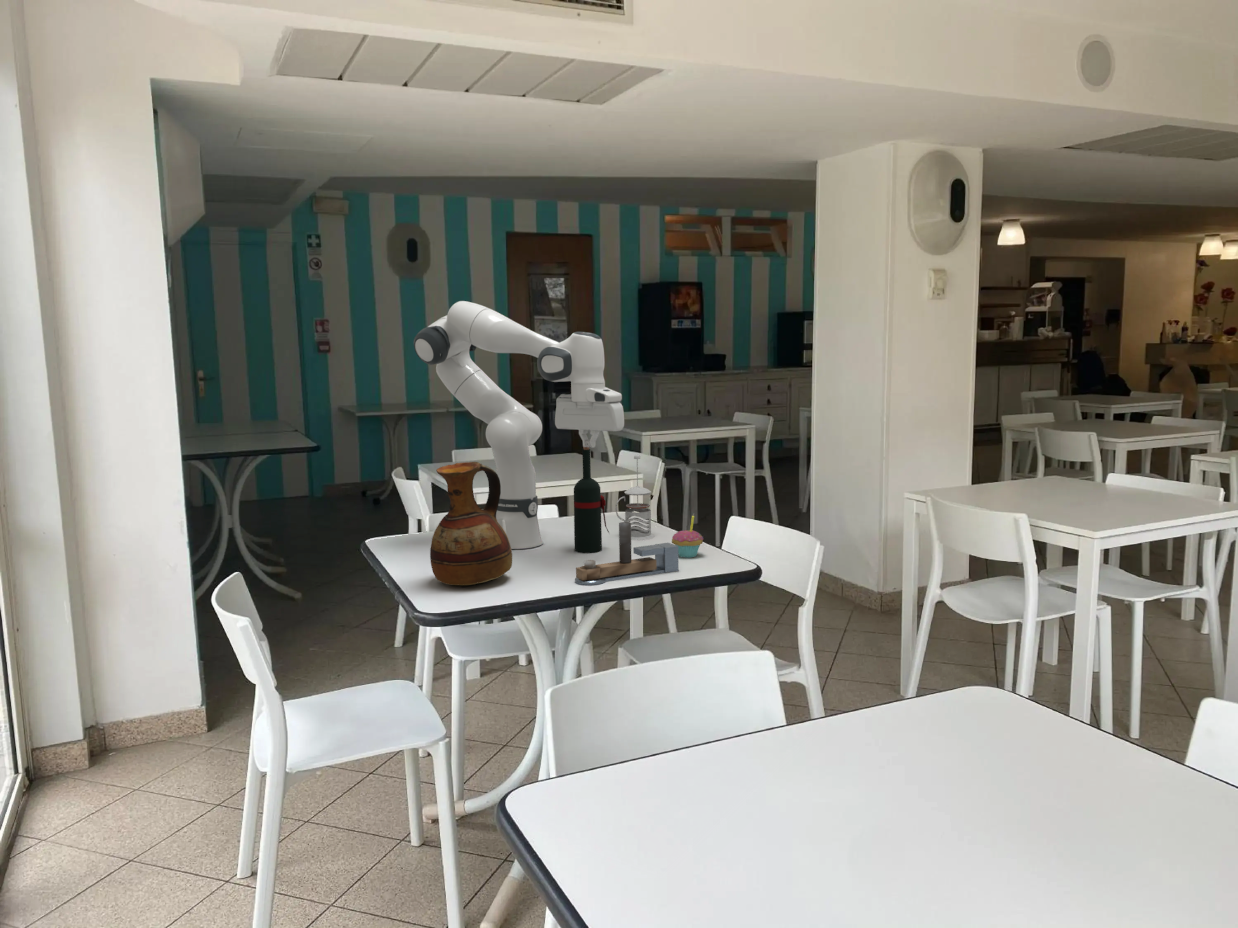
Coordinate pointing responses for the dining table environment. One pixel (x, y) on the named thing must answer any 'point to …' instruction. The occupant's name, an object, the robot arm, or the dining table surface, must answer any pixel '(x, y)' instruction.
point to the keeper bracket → (663, 554)
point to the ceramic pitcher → (469, 531)
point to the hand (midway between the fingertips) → (589, 447)
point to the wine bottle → (588, 510)
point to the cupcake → (687, 541)
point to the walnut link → (617, 568)
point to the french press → (644, 513)
